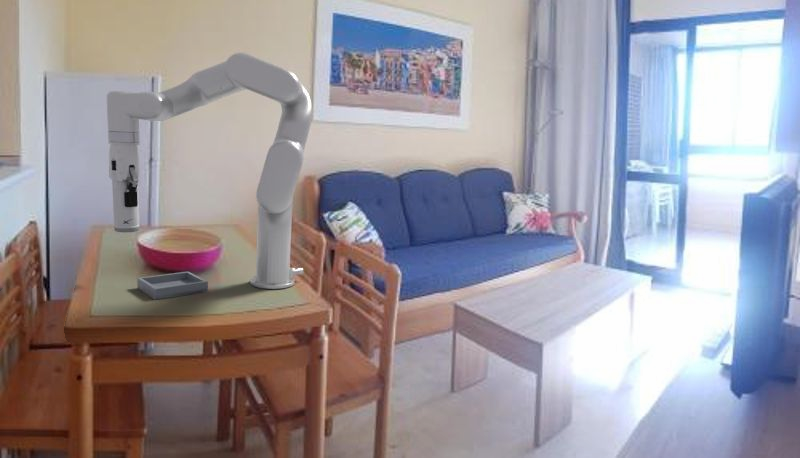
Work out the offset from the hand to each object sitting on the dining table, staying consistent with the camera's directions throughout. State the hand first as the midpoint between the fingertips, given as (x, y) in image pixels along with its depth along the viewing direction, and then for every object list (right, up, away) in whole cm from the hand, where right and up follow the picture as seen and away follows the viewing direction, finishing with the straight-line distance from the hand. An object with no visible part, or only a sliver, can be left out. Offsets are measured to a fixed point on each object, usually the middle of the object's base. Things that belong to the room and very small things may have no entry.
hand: (126, 204), depth 154 cm
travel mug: (0, -7, +1) cm, 7 cm away
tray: (+13, -23, -2) cm, 27 cm away
